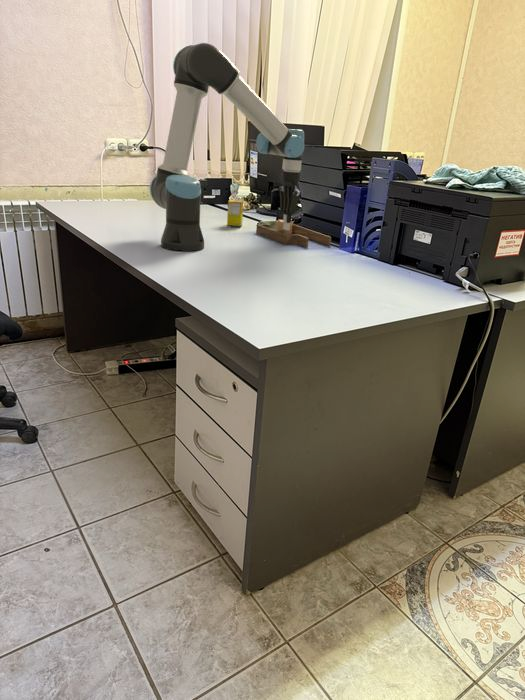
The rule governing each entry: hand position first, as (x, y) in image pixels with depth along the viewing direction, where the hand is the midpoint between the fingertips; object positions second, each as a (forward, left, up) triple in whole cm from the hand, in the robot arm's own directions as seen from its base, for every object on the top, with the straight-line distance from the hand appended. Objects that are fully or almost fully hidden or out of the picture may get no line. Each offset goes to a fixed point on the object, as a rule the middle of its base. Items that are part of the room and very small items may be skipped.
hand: (286, 230), depth 211 cm
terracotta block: (+2, +4, -2) cm, 5 cm away
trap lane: (-3, -6, -2) cm, 6 cm away
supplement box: (-13, +20, -2) cm, 25 cm away
